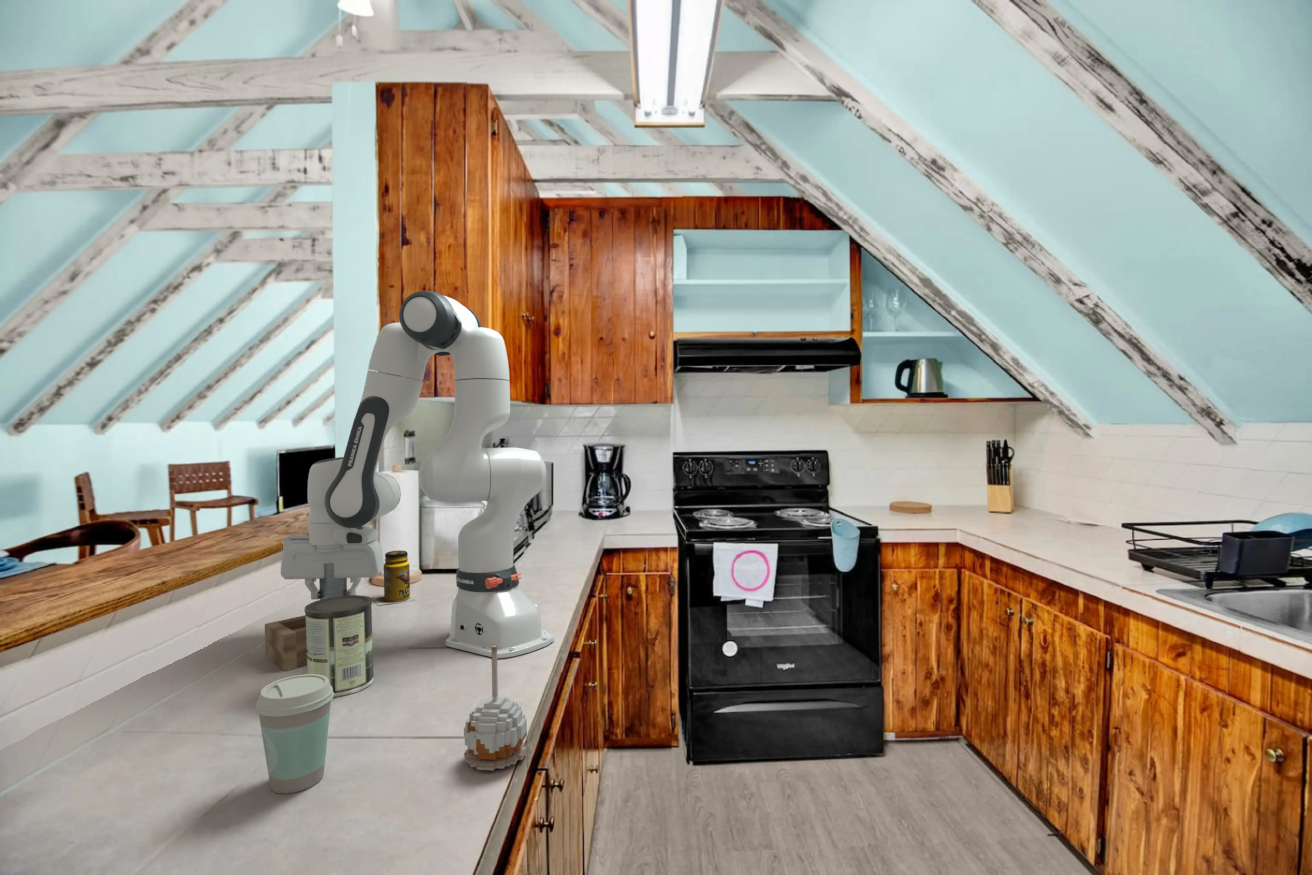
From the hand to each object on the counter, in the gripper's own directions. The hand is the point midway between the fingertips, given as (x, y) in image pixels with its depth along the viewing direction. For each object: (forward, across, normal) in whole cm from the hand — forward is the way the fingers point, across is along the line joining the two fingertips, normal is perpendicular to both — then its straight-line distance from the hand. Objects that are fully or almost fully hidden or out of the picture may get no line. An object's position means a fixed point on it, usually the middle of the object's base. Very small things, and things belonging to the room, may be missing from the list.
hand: (333, 598), depth 138 cm
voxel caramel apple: (+7, +44, -55) cm, 71 cm away
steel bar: (+7, 0, 0) cm, 7 cm away
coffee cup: (+7, +20, -59) cm, 63 cm away
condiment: (+7, +4, +24) cm, 25 cm away
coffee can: (+7, +13, -29) cm, 33 cm away
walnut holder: (+7, +1, -15) cm, 17 cm away
